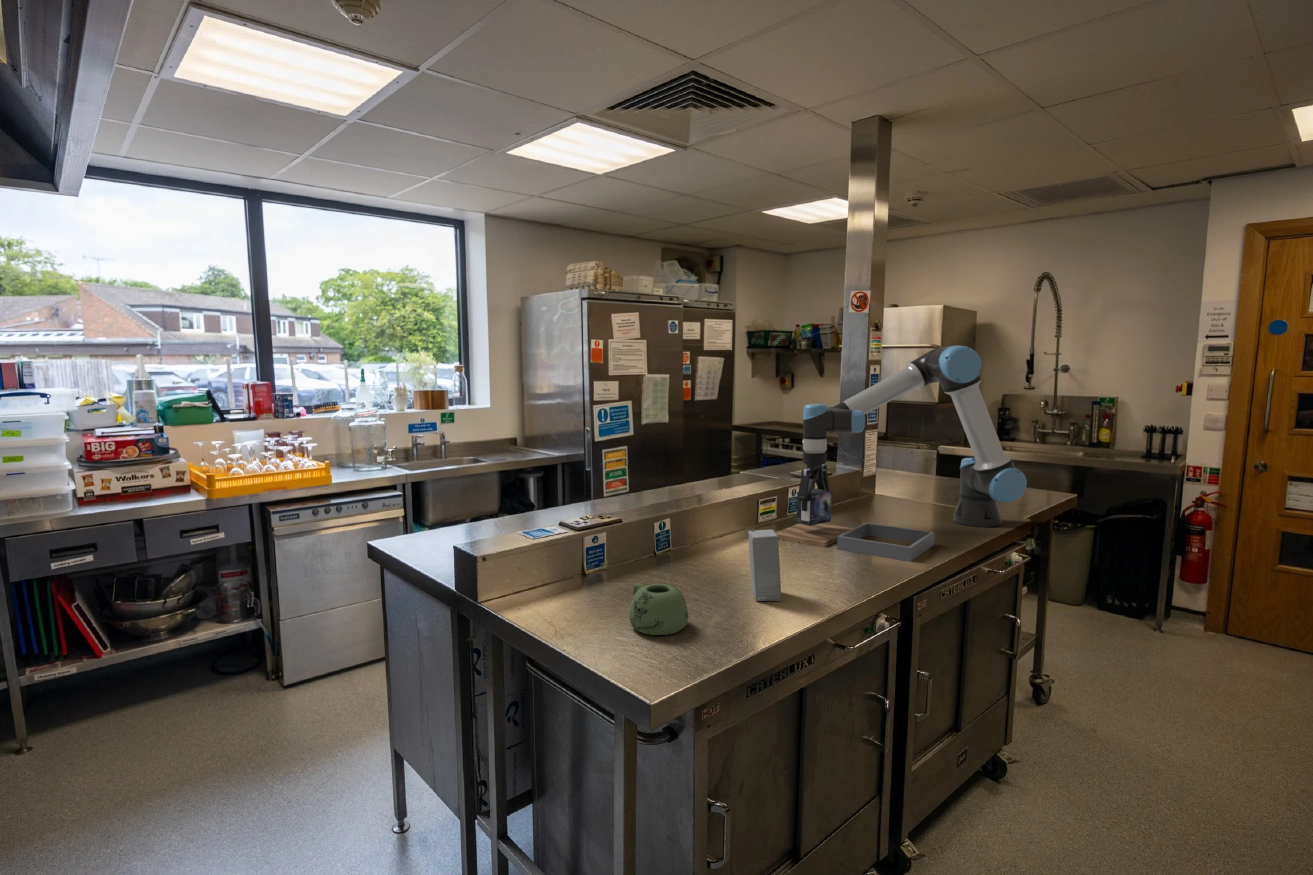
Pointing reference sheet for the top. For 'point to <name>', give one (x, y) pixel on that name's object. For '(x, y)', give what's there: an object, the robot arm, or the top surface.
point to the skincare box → (764, 565)
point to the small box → (816, 507)
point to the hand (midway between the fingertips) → (813, 517)
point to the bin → (856, 544)
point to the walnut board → (812, 534)
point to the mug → (658, 609)
